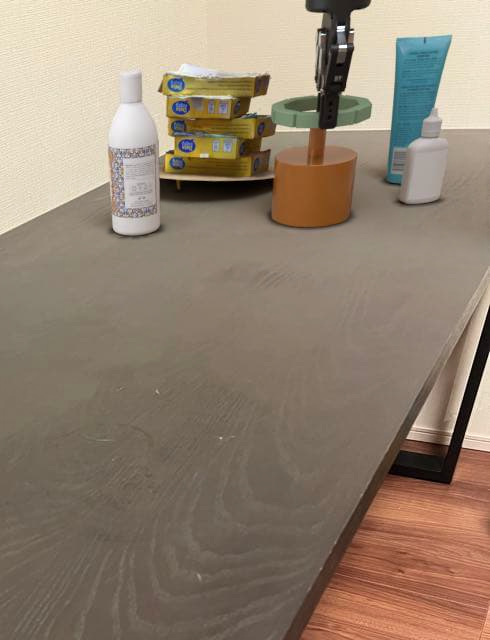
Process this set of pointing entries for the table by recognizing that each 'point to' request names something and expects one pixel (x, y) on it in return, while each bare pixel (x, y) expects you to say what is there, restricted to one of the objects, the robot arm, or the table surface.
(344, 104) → the rubber ring
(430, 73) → the tube
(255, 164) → the stacked yellow boxes
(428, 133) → the eye dropper bottle
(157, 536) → the table surface
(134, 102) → the bath foam
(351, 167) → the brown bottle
